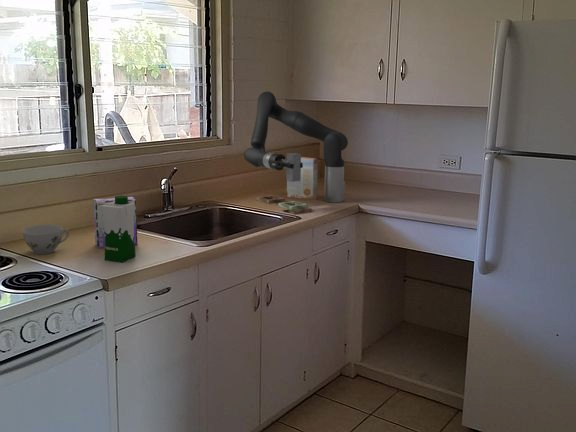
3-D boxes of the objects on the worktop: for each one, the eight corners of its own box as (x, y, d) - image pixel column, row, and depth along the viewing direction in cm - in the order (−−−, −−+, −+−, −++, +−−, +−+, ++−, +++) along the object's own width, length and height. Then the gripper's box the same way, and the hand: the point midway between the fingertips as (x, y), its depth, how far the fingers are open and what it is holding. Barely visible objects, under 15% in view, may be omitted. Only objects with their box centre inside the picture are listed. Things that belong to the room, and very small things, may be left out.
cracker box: (317, 200, 301) (318, 157, 297) (312, 202, 296) (313, 159, 291) (291, 197, 307) (292, 155, 302) (286, 199, 301) (287, 157, 297)
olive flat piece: (271, 200, 297) (271, 194, 297) (311, 211, 274) (311, 205, 274) (254, 203, 291) (254, 196, 291) (294, 214, 268) (294, 207, 268)
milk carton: (139, 256, 201) (137, 196, 197) (122, 264, 193) (120, 201, 188) (117, 253, 204) (114, 194, 200) (99, 260, 196) (96, 199, 192)
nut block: (294, 179, 277) (294, 153, 274) (300, 180, 273) (301, 154, 271) (286, 180, 274) (286, 153, 272) (292, 181, 271) (293, 154, 268)
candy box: (97, 248, 210) (94, 201, 206) (95, 244, 215) (92, 198, 211) (138, 245, 215) (136, 199, 212) (135, 241, 220) (133, 196, 217)
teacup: (32, 259, 196) (30, 235, 194) (18, 251, 205) (16, 228, 203) (77, 251, 206) (76, 228, 204) (62, 243, 215) (61, 221, 213)
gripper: (262, 154, 278) (285, 158, 265) (286, 152, 287) (310, 156, 274) (261, 170, 280) (284, 175, 267) (286, 168, 288) (309, 173, 275)
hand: (297, 165), depth 270 cm, fingers closed on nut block, 4 cm apart
